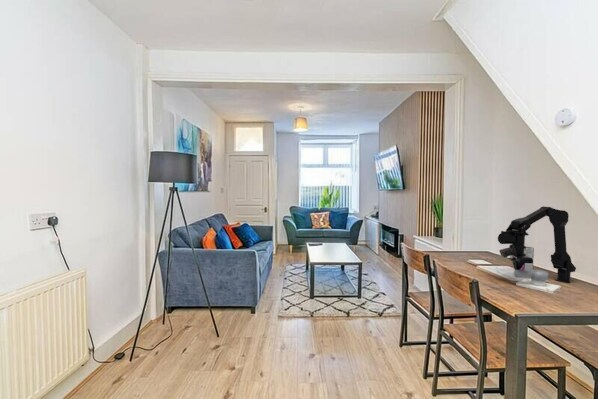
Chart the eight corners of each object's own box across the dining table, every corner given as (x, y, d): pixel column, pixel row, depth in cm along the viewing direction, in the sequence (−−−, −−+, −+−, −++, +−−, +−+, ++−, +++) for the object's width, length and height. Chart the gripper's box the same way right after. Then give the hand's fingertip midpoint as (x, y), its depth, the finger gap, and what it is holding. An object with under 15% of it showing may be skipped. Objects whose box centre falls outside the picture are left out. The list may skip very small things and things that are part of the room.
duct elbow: (542, 276, 177) (542, 269, 177) (551, 280, 169) (552, 273, 169) (512, 275, 179) (512, 267, 179) (520, 279, 171) (520, 271, 171)
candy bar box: (515, 269, 208) (516, 243, 208) (524, 269, 207) (525, 243, 207) (523, 274, 198) (525, 246, 197) (533, 274, 196) (534, 247, 196)
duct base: (525, 280, 184) (525, 273, 184) (560, 288, 172) (561, 280, 172) (516, 285, 176) (516, 277, 176) (552, 293, 164) (553, 285, 163)
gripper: (494, 240, 188) (492, 267, 189) (510, 246, 170) (509, 276, 171) (515, 240, 187) (513, 268, 188) (534, 247, 169) (532, 277, 169)
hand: (516, 272), depth 179 cm, fingers closed
